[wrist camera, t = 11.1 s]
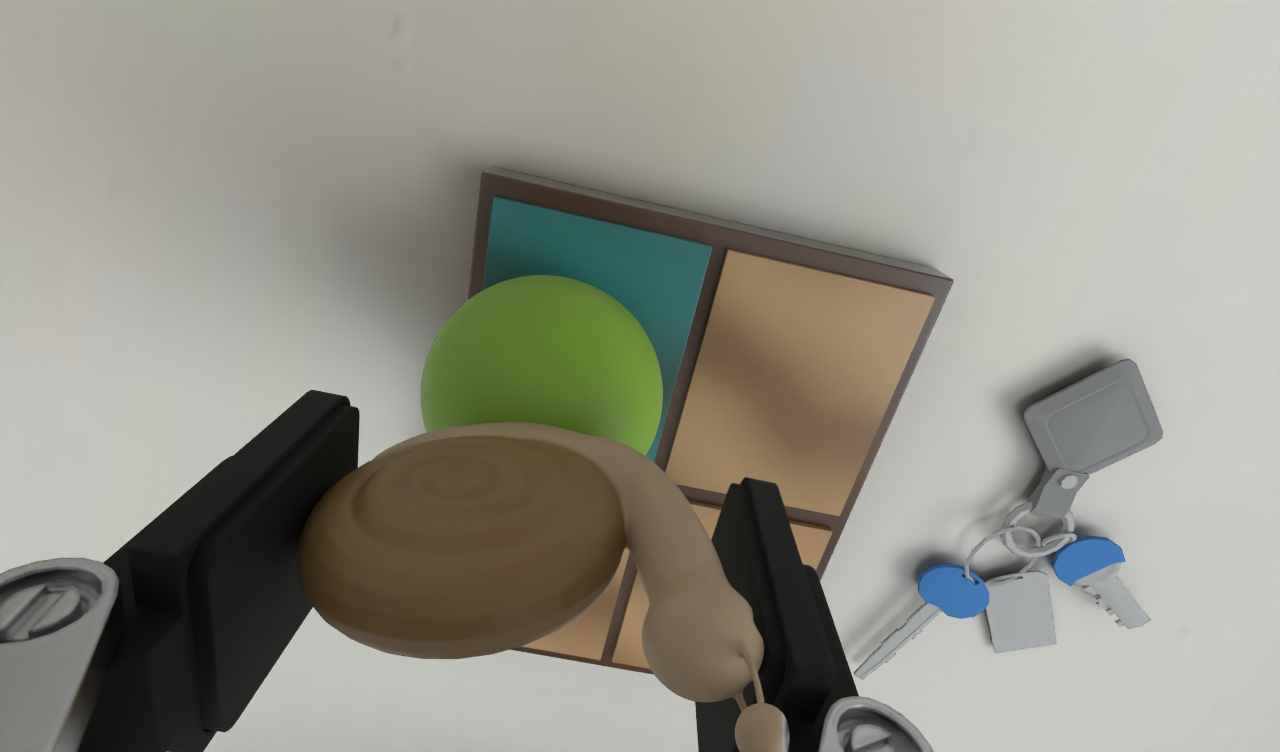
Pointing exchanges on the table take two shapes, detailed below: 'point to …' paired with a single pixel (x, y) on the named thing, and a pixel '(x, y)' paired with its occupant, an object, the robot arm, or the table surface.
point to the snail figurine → (533, 505)
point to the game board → (724, 359)
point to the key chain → (1072, 449)
